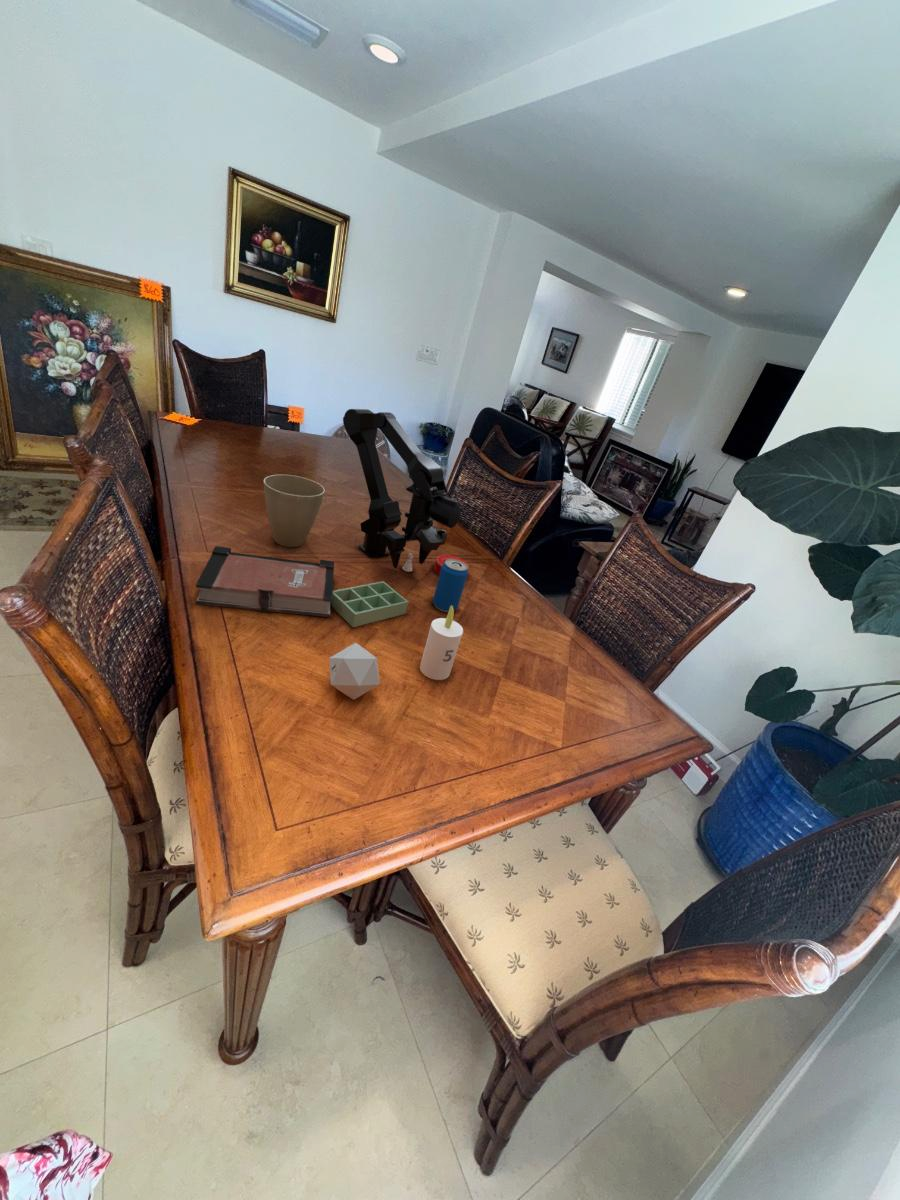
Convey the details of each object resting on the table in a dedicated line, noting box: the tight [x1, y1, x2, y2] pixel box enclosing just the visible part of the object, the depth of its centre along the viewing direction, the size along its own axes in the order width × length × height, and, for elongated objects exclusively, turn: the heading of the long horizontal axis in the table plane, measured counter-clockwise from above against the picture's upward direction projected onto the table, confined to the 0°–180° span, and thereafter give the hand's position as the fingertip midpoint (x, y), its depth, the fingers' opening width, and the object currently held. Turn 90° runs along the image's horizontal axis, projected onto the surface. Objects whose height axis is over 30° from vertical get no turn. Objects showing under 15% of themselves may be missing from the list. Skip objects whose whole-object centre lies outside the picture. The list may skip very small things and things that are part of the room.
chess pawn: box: [402, 552, 415, 573], centre depth 132 cm, size 3×3×5 cm
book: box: [195, 545, 335, 618], centre depth 106 cm, size 26×18×5 cm
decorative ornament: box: [433, 554, 470, 576], centre depth 138 cm, size 10×10×3 cm
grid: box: [331, 580, 409, 628], centre depth 110 cm, size 10×15×3 cm
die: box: [328, 642, 381, 701], centre depth 85 cm, size 8×9×10 cm
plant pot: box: [263, 473, 326, 548], centre depth 126 cm, size 15×15×16 cm
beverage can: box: [432, 559, 469, 613], centre depth 117 cm, size 6×6×12 cm
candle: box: [419, 605, 464, 681], centre depth 94 cm, size 6×6×15 cm
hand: (408, 565), depth 132 cm, fingers open, 9 cm apart
